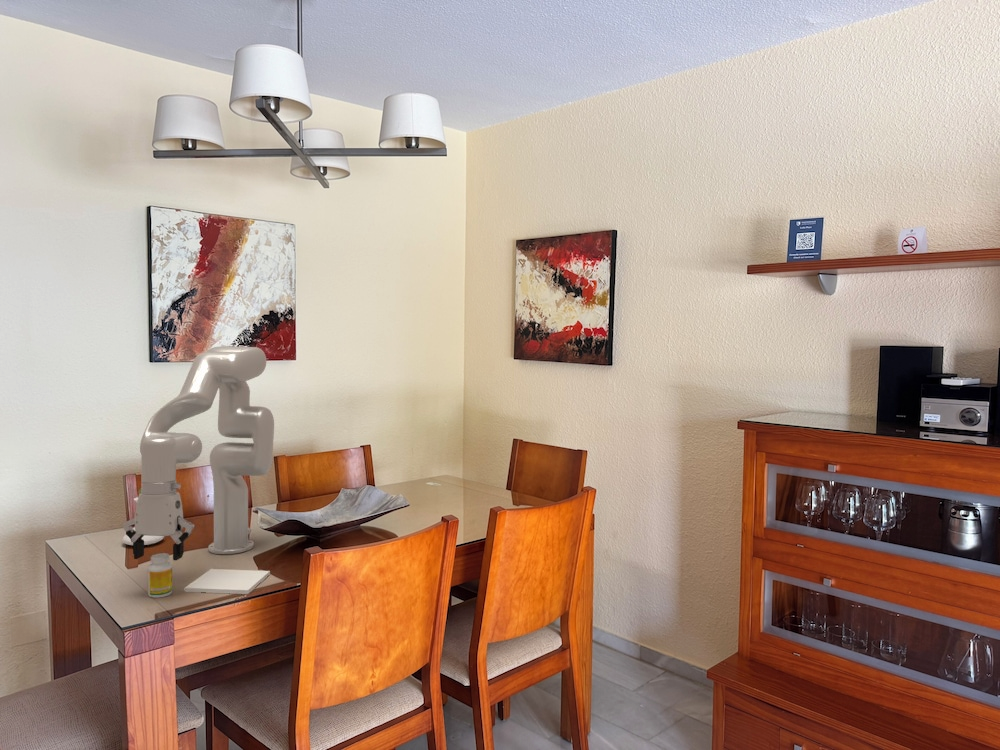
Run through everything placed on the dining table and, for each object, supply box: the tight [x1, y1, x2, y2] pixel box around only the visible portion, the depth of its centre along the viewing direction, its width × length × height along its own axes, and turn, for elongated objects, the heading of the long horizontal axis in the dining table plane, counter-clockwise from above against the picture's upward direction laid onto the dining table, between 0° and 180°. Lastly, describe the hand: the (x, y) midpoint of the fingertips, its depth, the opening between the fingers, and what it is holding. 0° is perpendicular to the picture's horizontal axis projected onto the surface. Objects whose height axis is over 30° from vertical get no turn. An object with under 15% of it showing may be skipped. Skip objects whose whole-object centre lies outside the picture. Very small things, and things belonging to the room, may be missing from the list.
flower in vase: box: [121, 487, 165, 546], centre depth 209 cm, size 13×11×25 cm
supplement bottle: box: [147, 552, 173, 599], centre depth 168 cm, size 5×5×10 cm
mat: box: [183, 568, 271, 595], centre depth 176 cm, size 14×16×1 cm
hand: (158, 558), depth 167 cm, fingers open, 9 cm apart
